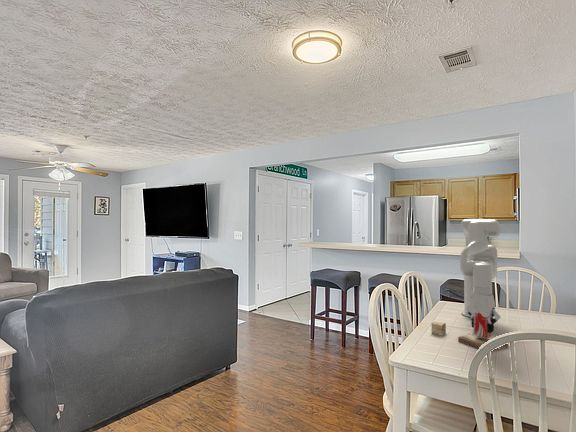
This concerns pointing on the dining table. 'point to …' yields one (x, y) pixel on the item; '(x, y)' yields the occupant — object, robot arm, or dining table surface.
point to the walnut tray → (475, 340)
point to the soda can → (481, 326)
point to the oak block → (438, 327)
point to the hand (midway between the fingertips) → (482, 329)
